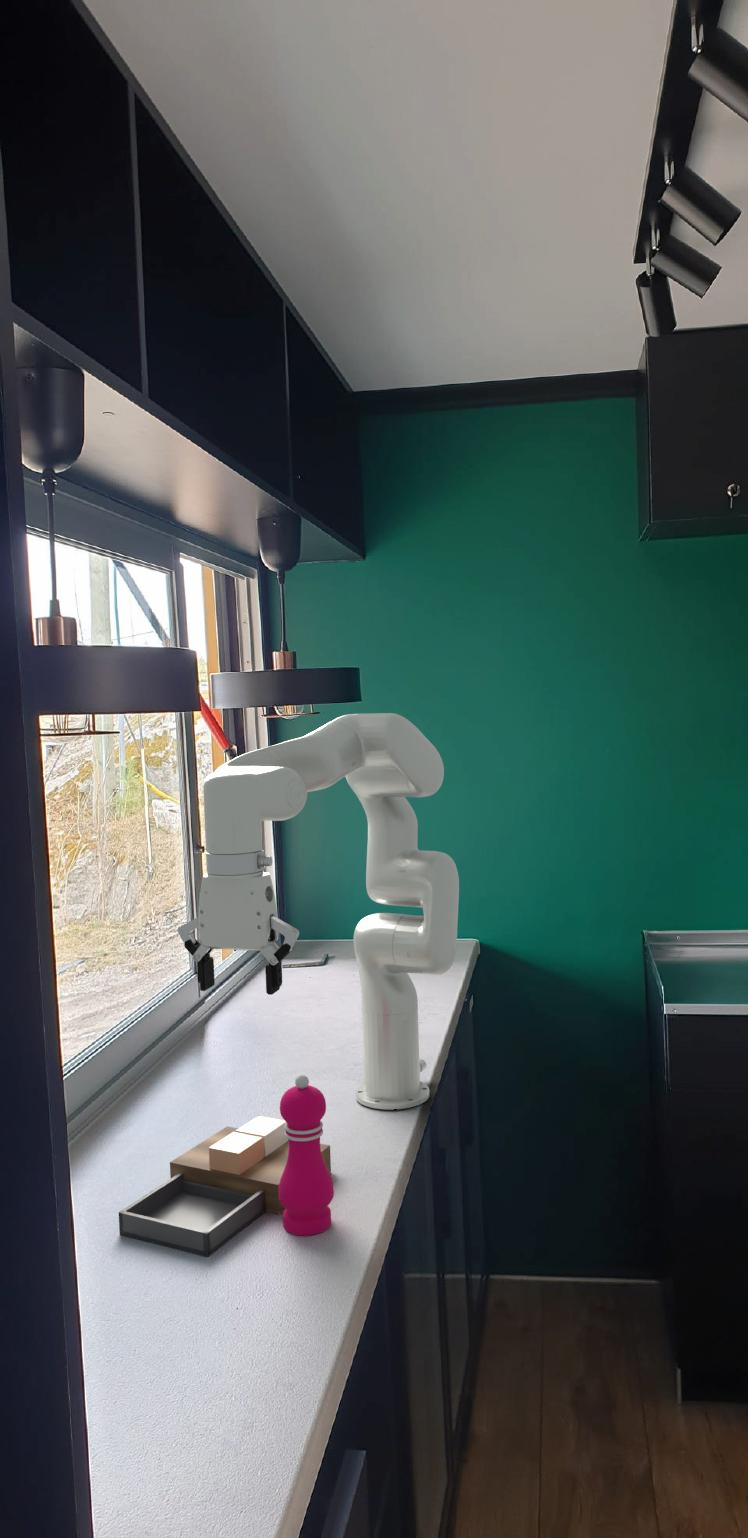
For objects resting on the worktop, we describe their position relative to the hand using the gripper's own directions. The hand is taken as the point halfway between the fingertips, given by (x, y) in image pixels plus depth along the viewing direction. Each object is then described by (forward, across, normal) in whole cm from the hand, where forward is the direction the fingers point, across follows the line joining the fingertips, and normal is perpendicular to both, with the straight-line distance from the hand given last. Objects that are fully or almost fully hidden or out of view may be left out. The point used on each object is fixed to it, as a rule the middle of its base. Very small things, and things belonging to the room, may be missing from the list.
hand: (240, 990), depth 150 cm
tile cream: (+26, +2, -10) cm, 28 cm away
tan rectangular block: (+26, +3, -3) cm, 26 cm away
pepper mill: (+30, -10, +4) cm, 32 cm away
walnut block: (+30, +2, -7) cm, 31 cm away
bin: (+30, +5, +7) cm, 31 cm away
